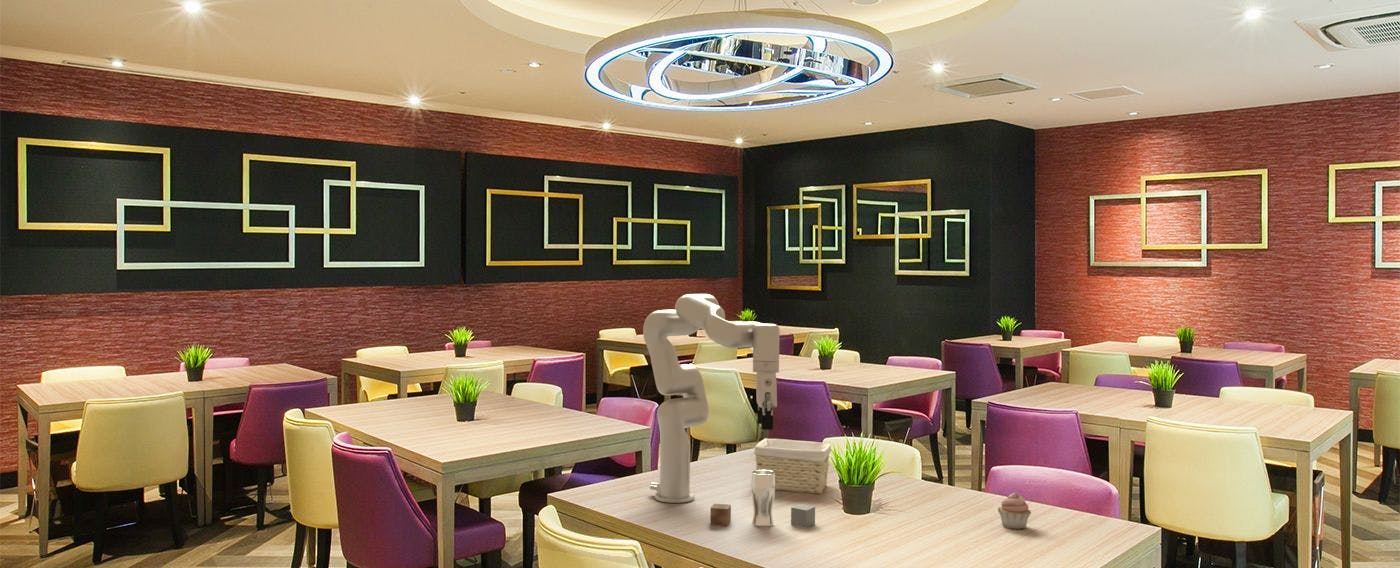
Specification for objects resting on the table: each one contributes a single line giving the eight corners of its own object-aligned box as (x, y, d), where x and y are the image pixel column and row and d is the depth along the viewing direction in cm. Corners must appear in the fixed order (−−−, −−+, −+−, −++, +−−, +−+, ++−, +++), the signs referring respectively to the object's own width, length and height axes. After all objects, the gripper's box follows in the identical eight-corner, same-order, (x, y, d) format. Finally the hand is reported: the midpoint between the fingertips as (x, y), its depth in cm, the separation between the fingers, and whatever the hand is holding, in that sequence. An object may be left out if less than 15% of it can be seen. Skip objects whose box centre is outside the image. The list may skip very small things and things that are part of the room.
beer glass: (773, 528, 258) (774, 475, 258) (748, 526, 259) (749, 474, 259) (776, 521, 265) (776, 470, 264) (752, 520, 266) (753, 468, 266)
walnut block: (710, 525, 261) (710, 507, 261) (713, 520, 266) (714, 503, 265) (727, 526, 260) (727, 509, 259) (730, 521, 264) (730, 504, 264)
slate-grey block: (790, 524, 262) (791, 507, 262) (800, 521, 266) (800, 504, 266) (806, 527, 259) (806, 510, 259) (814, 524, 263) (815, 506, 263)
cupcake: (1014, 533, 257) (1015, 497, 256) (990, 524, 265) (990, 490, 265) (1038, 529, 261) (1039, 494, 261) (1013, 520, 269) (1014, 486, 269)
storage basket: (831, 485, 312) (832, 441, 311) (824, 496, 296) (824, 450, 296) (763, 479, 318) (763, 437, 318) (752, 490, 303) (752, 445, 303)
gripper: (783, 370, 253) (782, 431, 253) (774, 363, 270) (774, 421, 270) (756, 370, 252) (755, 431, 253) (749, 363, 270) (748, 421, 270)
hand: (765, 426), depth 262 cm, fingers open, 9 cm apart
